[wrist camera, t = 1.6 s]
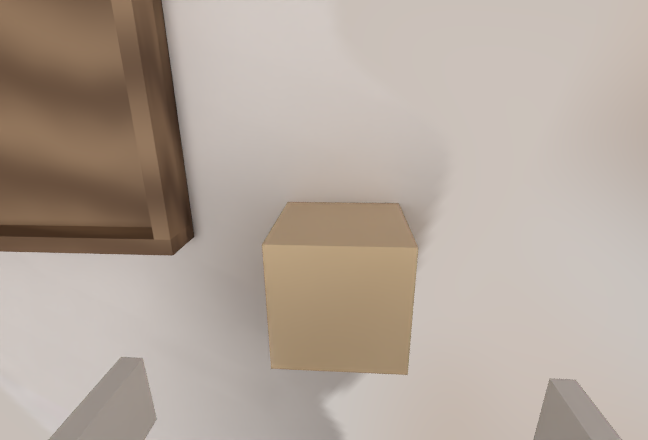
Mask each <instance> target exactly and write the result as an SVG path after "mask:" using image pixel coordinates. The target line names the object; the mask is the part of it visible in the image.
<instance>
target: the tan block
mask: <svg viewBox="0 0 648 440" xmlns="http://www.w3.org/2000/svg"><path fill="white" fill-rule="evenodd" d="M262 251H263V265H264V279H265V292H266V306H267V320H268V333H269V347H270V361H271V369H291V370H313V371H335V372H357V373H379V374H381V373H382V374H402V375H407V374H408V363H409V350H410V339H411V327H412V315H413V303H414V291H415V280H416V268H417V256H418V246H417V244H416V242H415V239H414V237H413V235H412V233H411V230H410V228H409V226H408V224H407V221H406V219H405V217H404V215H403V212H402V210H401V208H400V206H399V203H326V202H288V203H287V204H286V206H285V208H284V209H283V211H282V212H281V214H280V216H279V217H278V219H277V221H276V222H275V224H274V226H273V227H272V229H271V231H270V232H269V234H268V236H267V237H266V239H265V241H264V242H263V244H262Z"/></svg>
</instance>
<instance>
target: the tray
mask: <svg viewBox="0 0 648 440" xmlns="http://www.w3.org/2000/svg"><path fill="white" fill-rule="evenodd" d="M193 237H194V232H193V225H192V218H191V211H190V204H189V196H188V189H187V182H186V175H185V168H184V160H183V153H182V146H181V139H180V132H179V125H178V117H177V110H176V103H175V96H174V89H173V82H172V74H171V67H170V60H169V53H168V46H167V38H166V31H165V24H164V17H163V10H162V3H161V0H0V251H8V252H50V253H93V254H136V255H174V254H175V253H176V252H177V251H178V250H180V249H181V248H182V247H183V246H184V245H185V244H186V243H188V242H189V241H190V240H191V239H192V238H193Z"/></svg>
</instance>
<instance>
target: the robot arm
mask: <svg viewBox="0 0 648 440" xmlns="http://www.w3.org/2000/svg"><path fill="white" fill-rule="evenodd" d="M156 420H157V418H156V414H155V409H154V405H153V401H152V396H151V392H150V388H149V383H148V379H147V375H146V370H145V366H144V362H143V358H131V357H121V358H120V359H119V360H118V361H117V362H116V363H115V365H114V366H113V367H112V368H111V369H110V370H109V371H108V372H107V374H106V375H105V376H104V377H103V378H102V379H101V380H100V382H99V383H98V384H97V385H96V386H95V387H94V388H93V390H92V391H91V392H90V393H89V394H88V395H87V396H86V398H85V399H84V400H83V401H82V402H81V403H80V404H79V406H78V407H77V408H76V409H75V410H74V411H73V412H72V413H71V415H70V416H69V417H68V418H67V419H66V420H65V421H64V423H63V424H62V425H61V426H60V427H59V428H58V429H57V431H56V432H55V433H54V434H53V435H52V436H51V437H50V439H49V440H144V439H145V438H146V436H147V434H148V433H149V431H150V429H151V428H152V426H153V425H154V423H155V421H156ZM534 440H622V439H621V438H620V437H619V435H618V434H617V433H616V431H615V430H614V429H613V427H612V426H611V425H610V424H609V422H608V421H607V420H606V418H605V417H604V416H603V415H602V413H601V412H600V411H599V409H598V408H597V407H596V405H595V404H594V403H593V402H592V400H591V399H590V398H589V396H588V395H587V394H586V392H585V391H584V390H583V389H582V387H581V386H580V385H579V383H578V382H577V381H576V380H570V379H549V383H548V387H547V390H546V394H545V398H544V402H543V406H542V409H541V413H540V417H539V421H538V425H537V428H536V432H535V436H534Z"/></svg>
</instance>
